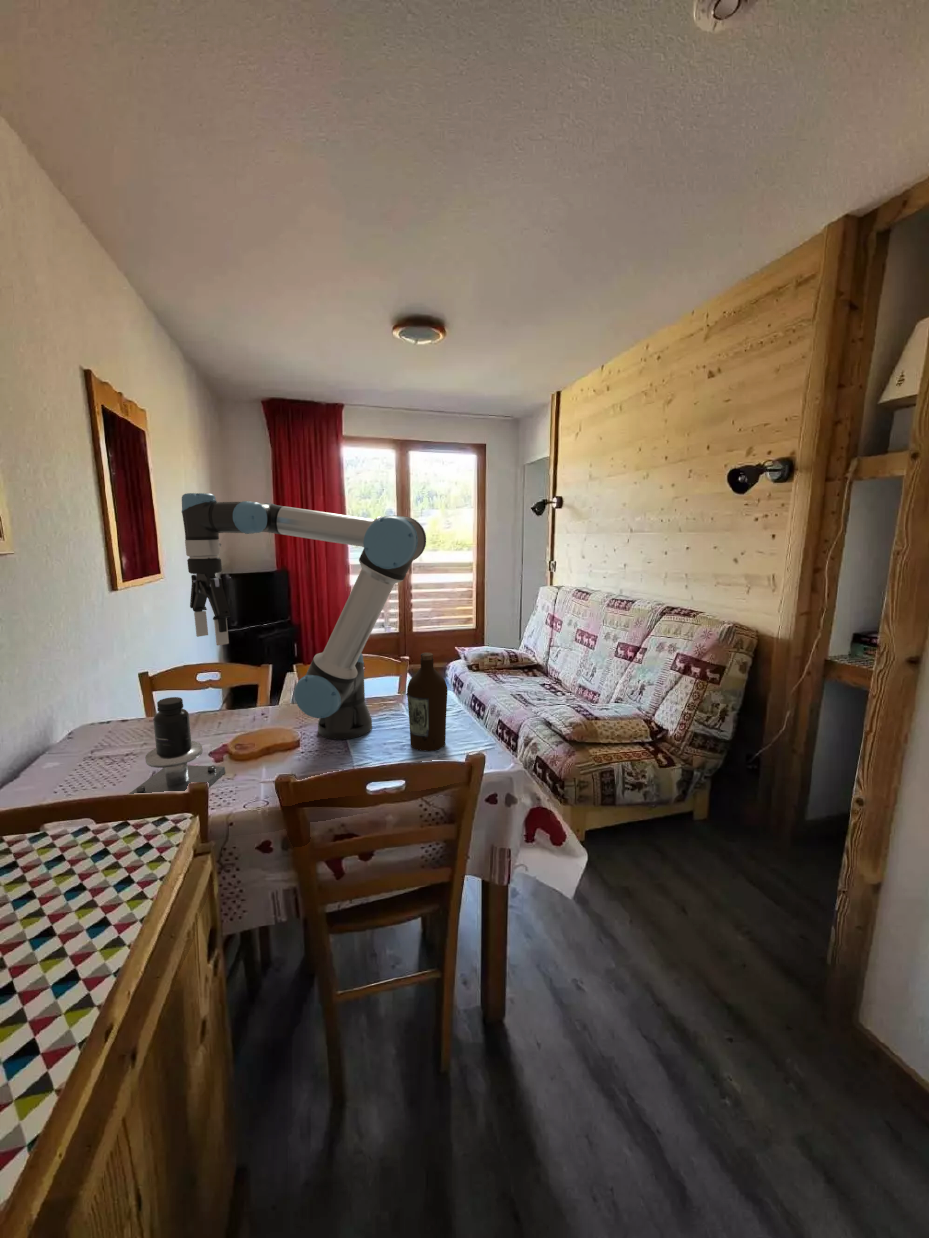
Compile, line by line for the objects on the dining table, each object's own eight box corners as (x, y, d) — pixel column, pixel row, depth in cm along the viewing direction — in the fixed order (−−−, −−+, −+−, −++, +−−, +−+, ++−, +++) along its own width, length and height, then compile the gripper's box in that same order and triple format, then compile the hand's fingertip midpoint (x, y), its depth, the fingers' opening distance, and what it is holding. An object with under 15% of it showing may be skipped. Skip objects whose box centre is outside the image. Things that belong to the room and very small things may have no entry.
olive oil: (425, 732, 143) (424, 646, 138) (455, 741, 137) (455, 652, 132) (399, 745, 134) (397, 655, 129) (430, 756, 128) (429, 662, 123)
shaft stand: (225, 772, 120) (221, 739, 118) (189, 805, 106) (185, 767, 104) (168, 770, 121) (164, 737, 119) (126, 802, 107) (121, 765, 105)
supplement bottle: (154, 761, 107) (148, 707, 105) (159, 747, 113) (153, 697, 111) (190, 755, 110) (185, 703, 107) (194, 743, 116) (189, 693, 114)
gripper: (240, 559, 119) (247, 645, 124) (201, 553, 136) (209, 630, 140) (207, 560, 114) (215, 651, 118) (171, 555, 131) (179, 634, 135)
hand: (212, 640), depth 129 cm, fingers open, 13 cm apart
